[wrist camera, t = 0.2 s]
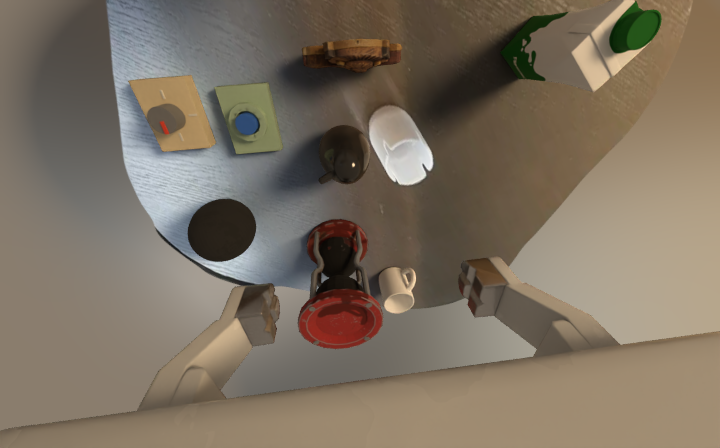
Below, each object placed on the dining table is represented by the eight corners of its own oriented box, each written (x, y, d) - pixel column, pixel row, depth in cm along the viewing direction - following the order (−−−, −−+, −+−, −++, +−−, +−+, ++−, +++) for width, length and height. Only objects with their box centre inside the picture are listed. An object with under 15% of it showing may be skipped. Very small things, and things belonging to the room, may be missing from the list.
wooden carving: (308, 77, 48) (304, 81, 40) (302, 47, 45) (296, 45, 37) (396, 65, 48) (410, 67, 40) (395, 34, 46) (410, 30, 37)
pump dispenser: (309, 133, 53) (304, 157, 41) (356, 112, 52) (365, 131, 39) (330, 175, 59) (331, 209, 46) (373, 158, 58) (386, 187, 45)
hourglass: (379, 242, 71) (400, 320, 50) (338, 275, 76) (342, 358, 55) (336, 207, 63) (340, 282, 43) (294, 246, 69) (279, 329, 48)
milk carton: (557, 45, 49) (674, 40, 32) (516, 87, 52) (603, 102, 36) (534, 6, 46) (653, -22, 29) (492, 54, 49) (576, 53, 32)
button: (235, 113, 47) (232, 115, 45) (255, 111, 47) (253, 113, 45) (241, 133, 49) (238, 136, 47) (260, 131, 49) (258, 134, 47)
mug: (399, 253, 74) (409, 279, 65) (419, 265, 77) (430, 292, 69) (372, 279, 78) (377, 306, 70) (392, 289, 82) (399, 317, 73)
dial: (153, 104, 45) (140, 108, 42) (179, 102, 45) (168, 105, 42) (165, 130, 48) (153, 135, 44) (190, 128, 48) (180, 133, 45)
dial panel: (138, 79, 46) (127, 80, 43) (191, 75, 46) (183, 76, 43) (170, 147, 52) (162, 152, 50) (216, 143, 53) (210, 147, 50)
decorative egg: (260, 236, 66) (244, 279, 53) (207, 228, 63) (177, 271, 51) (263, 193, 60) (246, 230, 47) (204, 182, 57) (170, 219, 44)
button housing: (218, 86, 47) (210, 88, 44) (268, 82, 48) (263, 84, 44) (239, 151, 54) (233, 157, 51) (283, 147, 54) (280, 153, 51)
